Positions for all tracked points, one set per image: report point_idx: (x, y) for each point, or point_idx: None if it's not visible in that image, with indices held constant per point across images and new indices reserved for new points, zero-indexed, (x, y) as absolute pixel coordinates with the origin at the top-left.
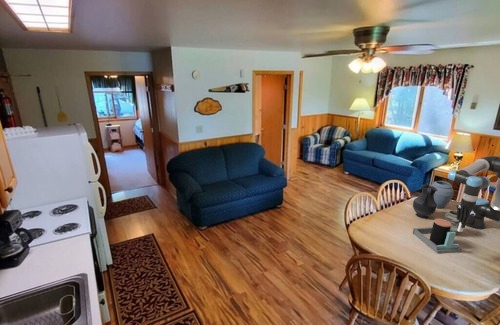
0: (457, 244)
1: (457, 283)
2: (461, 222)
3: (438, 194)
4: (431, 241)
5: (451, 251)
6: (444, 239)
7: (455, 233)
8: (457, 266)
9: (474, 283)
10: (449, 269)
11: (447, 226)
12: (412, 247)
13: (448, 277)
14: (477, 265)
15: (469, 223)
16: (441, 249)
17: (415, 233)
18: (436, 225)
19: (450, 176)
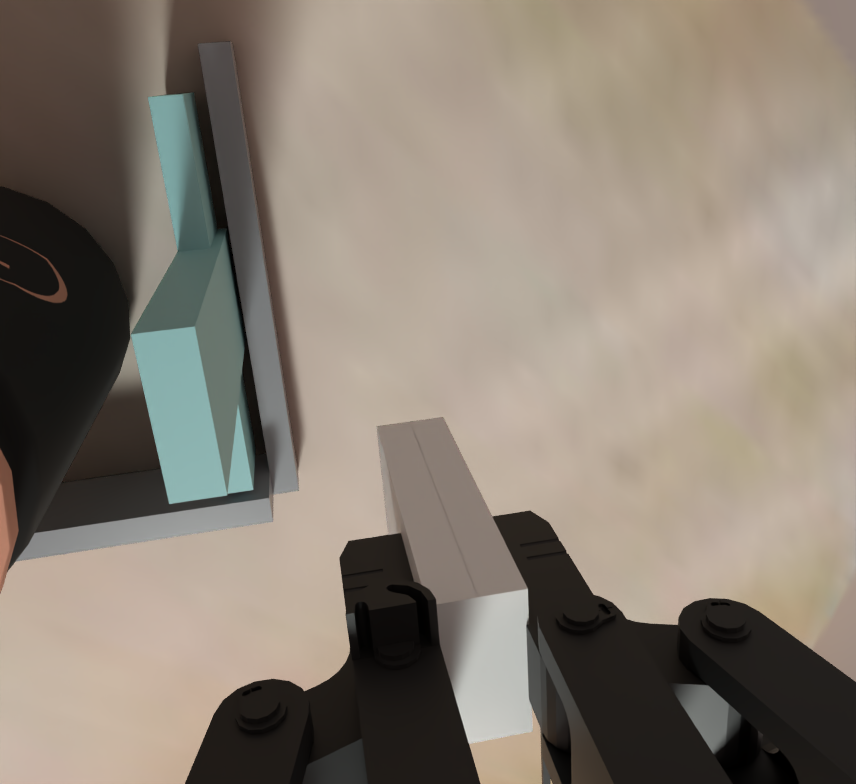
0: (171, 116)
1: (795, 544)
2: (460, 694)
3: None
4: (114, 524)
5: (263, 249)
6: (101, 351)
7: (197, 331)
8: (568, 372)
9: (834, 377)
10: (605, 498)
11: (8, 507)
12: (175, 699)
13: (710, 578)
14: (579, 70)
15: (787, 641)
16: (243, 399)
17: None
18: None
19: None
